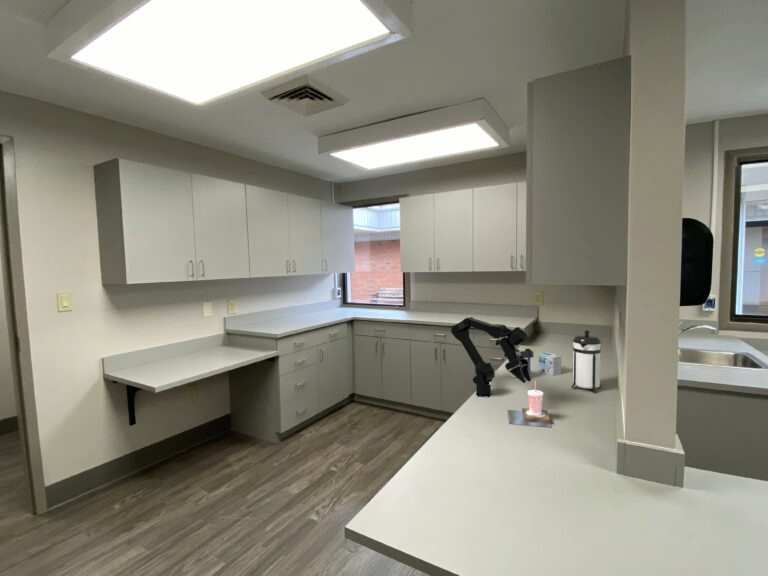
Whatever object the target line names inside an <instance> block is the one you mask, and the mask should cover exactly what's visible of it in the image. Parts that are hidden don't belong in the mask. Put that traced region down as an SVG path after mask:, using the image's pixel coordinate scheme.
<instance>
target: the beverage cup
mask: <svg viewBox="0 0 768 576" xmlns="http://www.w3.org/2000/svg"><path fill="white" fill-rule="evenodd" d="M527 395H528V407H529V408H528V409H529V412H530V414H532V415H541V410H543V409H542V408H543V407H542V406H543V396H544V392H543V391H541V390H537V380H534V389H529V390H527Z"/></svg>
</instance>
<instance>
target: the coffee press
mask: <svg viewBox="0 0 768 576" xmlns="http://www.w3.org/2000/svg"><path fill="white" fill-rule="evenodd" d="M572 342H573V343H572V345H573V346H572V351H573V354H572V355H573V356H572V359H573V361H572V362H573V365H572V369H573V370H572V371H573V375H572V383H573V384H572V385H571V389H573V388H575V389H574V390H576V389H577V388H578V387H579V388H581V389H589V390H591V392H592V393H593V392H594V393H593V394H596V393H597V388H598V387H599V386H600V387H602V385H601V353H602V348H601V344H602V340H601V339H600V337H599V336H597V335H595V334H590V331H589V330H587V329H586V330H585V331H584V333H581V334H576V335H575V336H574V337H573V338H572Z"/></svg>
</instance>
